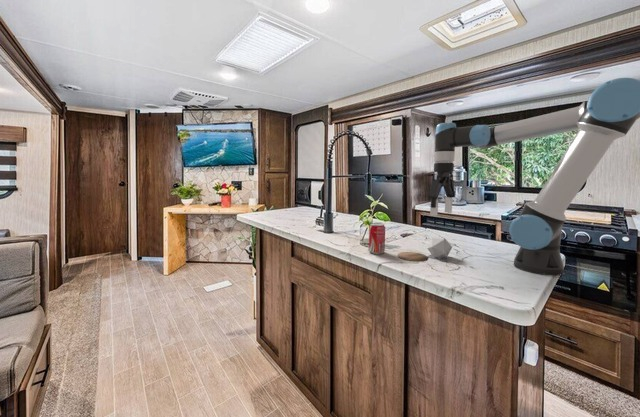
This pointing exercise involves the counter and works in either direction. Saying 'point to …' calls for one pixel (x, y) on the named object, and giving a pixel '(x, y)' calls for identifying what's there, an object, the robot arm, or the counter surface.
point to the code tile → (439, 258)
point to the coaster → (412, 256)
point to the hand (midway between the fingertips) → (441, 214)
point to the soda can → (377, 238)
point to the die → (439, 247)
